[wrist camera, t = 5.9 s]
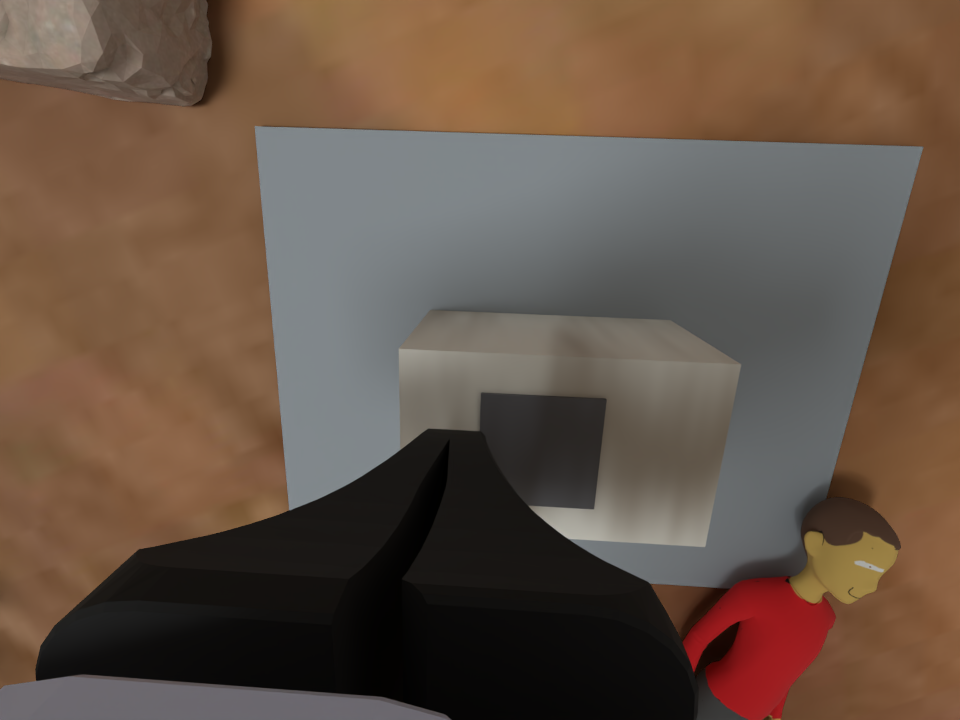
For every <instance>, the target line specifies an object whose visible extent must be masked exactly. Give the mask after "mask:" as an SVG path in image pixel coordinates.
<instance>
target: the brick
mask: <svg viewBox="0 0 960 720" xmlns="http://www.w3.org/2000/svg"><path fill="white" fill-rule="evenodd" d="M207 9H208V3H207V1H206V0H0V79H5V80H11V81H17V82H22V83H28V84H38V85H44V86H50V87H56V88H62V89H67V90H73V91H78V92H83V93H88V94H93V95H97V96H101V97H105V98H109V99H114V100H123V101H140V102H151V103H160V104H167V105H178V106H189V105H193V104H195V103H197V102H198V101H200V100H201V99H202V97H203V94H204V90H205V86H206V83H207V79H208V73H207V62H208V60H209V58H210V57H211V50H212V39H211V35H210V31H209V27H208V25H209V21H208V19H207Z"/></svg>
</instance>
